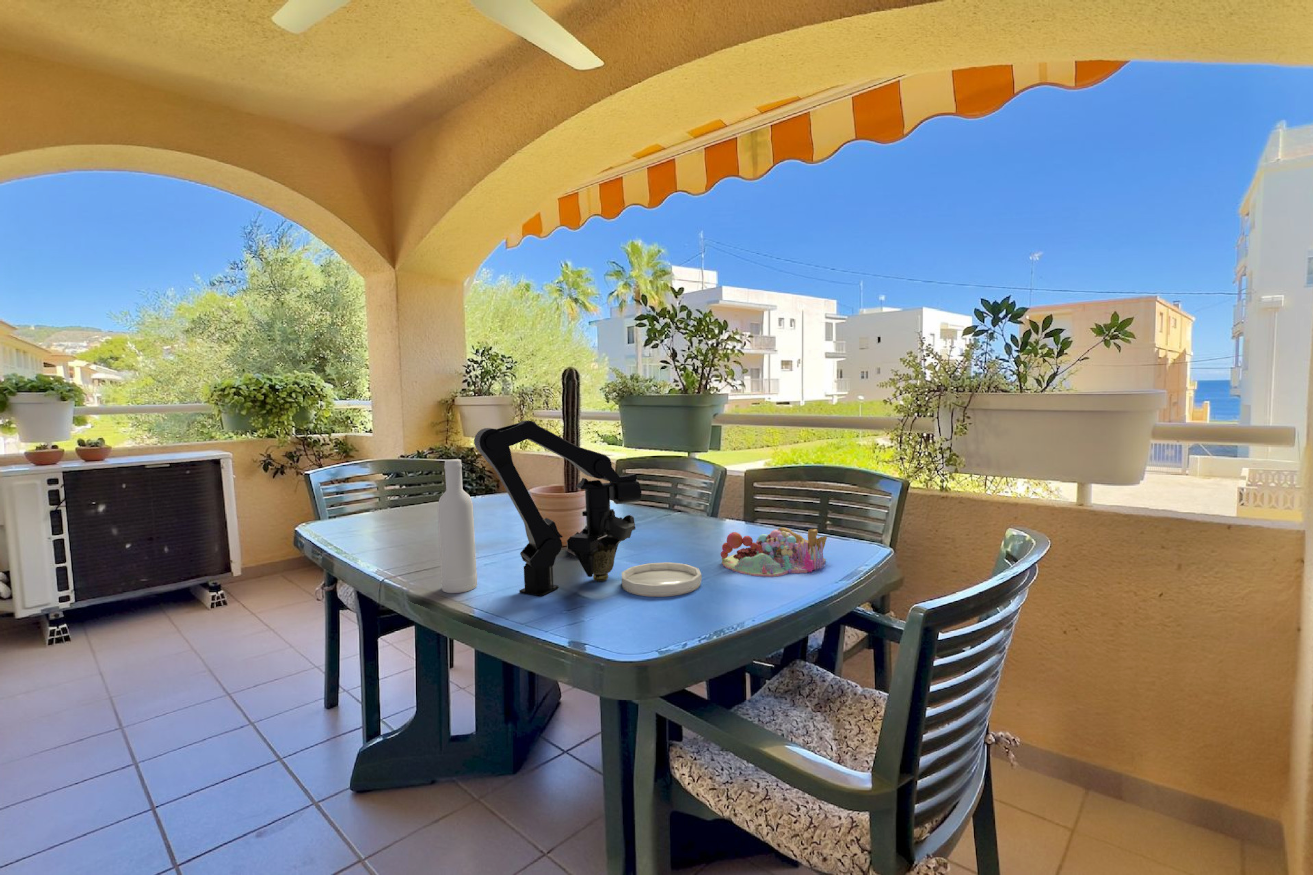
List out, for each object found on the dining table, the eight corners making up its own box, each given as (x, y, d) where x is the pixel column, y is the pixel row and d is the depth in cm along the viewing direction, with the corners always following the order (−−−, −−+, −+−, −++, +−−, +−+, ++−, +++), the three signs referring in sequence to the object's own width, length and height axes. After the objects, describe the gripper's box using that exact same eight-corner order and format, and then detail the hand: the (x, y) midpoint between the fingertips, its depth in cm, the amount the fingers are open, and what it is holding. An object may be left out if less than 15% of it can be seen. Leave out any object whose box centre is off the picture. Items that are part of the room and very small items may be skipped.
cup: (622, 576, 145) (620, 544, 145) (606, 585, 138) (605, 551, 138) (595, 574, 148) (593, 541, 148) (579, 582, 142) (577, 549, 141)
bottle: (435, 589, 140) (428, 460, 138) (466, 580, 146) (459, 457, 144) (452, 595, 135) (445, 462, 133) (484, 587, 141) (477, 459, 139)
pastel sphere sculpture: (764, 547, 170) (764, 515, 169) (842, 561, 153) (841, 525, 153) (708, 567, 152) (707, 531, 152) (789, 585, 136) (788, 544, 135)
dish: (681, 600, 126) (681, 589, 126) (607, 591, 134) (607, 580, 134) (712, 577, 143) (711, 566, 142) (644, 569, 150) (644, 559, 150)
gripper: (607, 515, 130) (609, 586, 131) (646, 501, 147) (648, 564, 148) (564, 512, 135) (567, 581, 136) (606, 499, 152) (609, 560, 153)
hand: (600, 571), depth 143 cm, fingers open, 9 cm apart
